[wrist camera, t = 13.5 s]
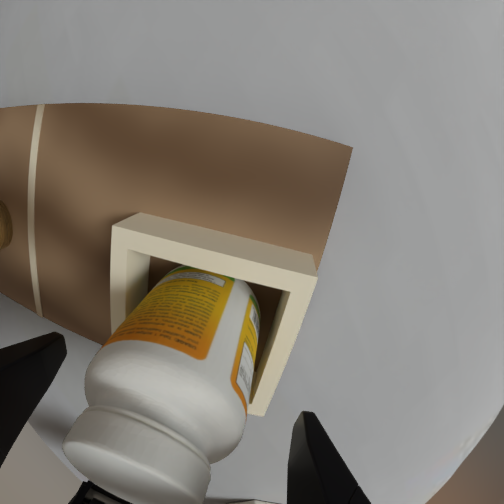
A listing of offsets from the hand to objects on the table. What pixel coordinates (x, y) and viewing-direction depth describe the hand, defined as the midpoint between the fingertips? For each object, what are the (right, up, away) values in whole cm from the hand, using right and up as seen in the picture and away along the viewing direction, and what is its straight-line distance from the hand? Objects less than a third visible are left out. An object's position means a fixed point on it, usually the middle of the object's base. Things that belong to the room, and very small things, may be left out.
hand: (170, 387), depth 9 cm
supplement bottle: (0, +2, +6) cm, 6 cm away
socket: (0, +2, +5) cm, 6 cm away
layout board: (-11, +7, +6) cm, 14 cm away
